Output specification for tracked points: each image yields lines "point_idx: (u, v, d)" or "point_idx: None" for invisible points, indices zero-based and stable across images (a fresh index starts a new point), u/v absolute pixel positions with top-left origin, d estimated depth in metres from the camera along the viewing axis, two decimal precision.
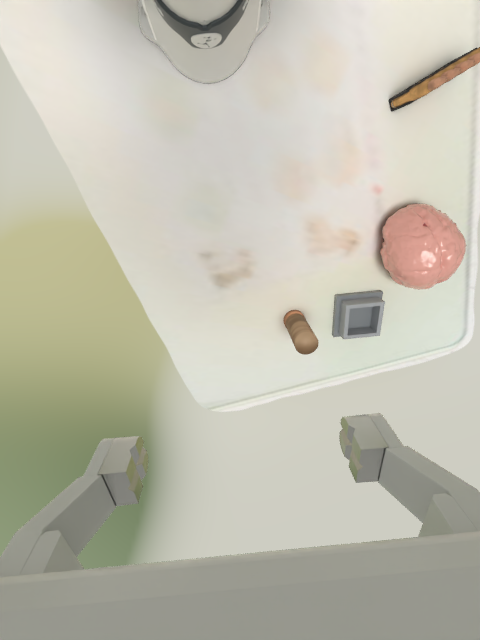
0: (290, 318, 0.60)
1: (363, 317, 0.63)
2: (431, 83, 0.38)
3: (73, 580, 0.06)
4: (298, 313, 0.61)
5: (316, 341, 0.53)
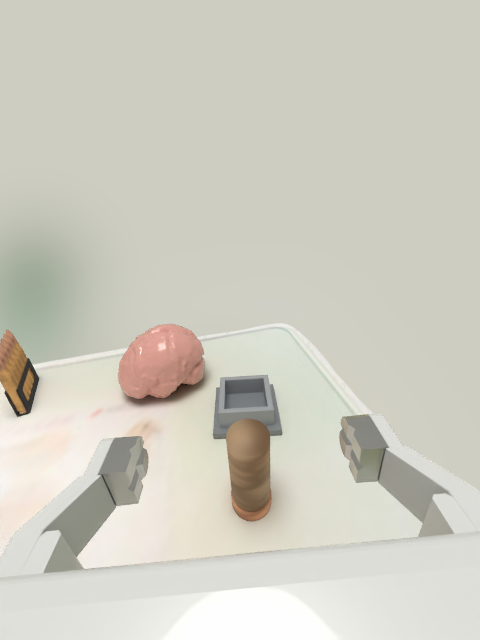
0: (235, 497, 0.31)
1: (250, 400, 0.47)
2: None
3: (73, 580, 0.06)
4: None
5: (242, 421, 0.30)
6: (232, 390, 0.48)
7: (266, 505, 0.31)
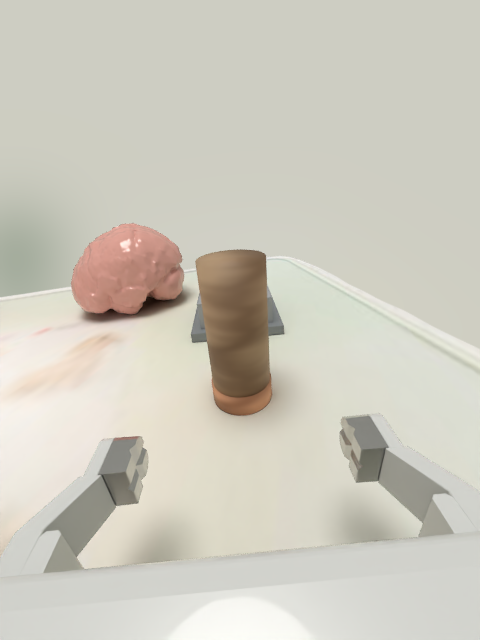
0: (217, 377, 0.20)
1: None
2: None
3: (73, 580, 0.06)
4: None
5: (223, 251, 0.19)
6: None
7: (264, 389, 0.20)
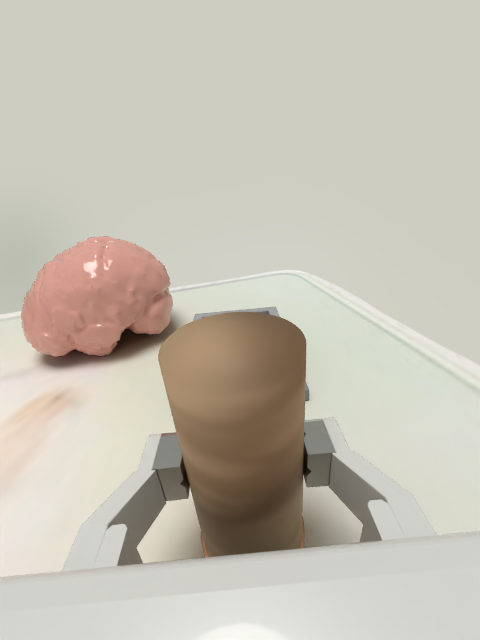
0: (208, 545, 0.11)
1: None
2: None
3: (73, 580, 0.06)
4: None
5: (216, 317, 0.10)
6: None
7: None
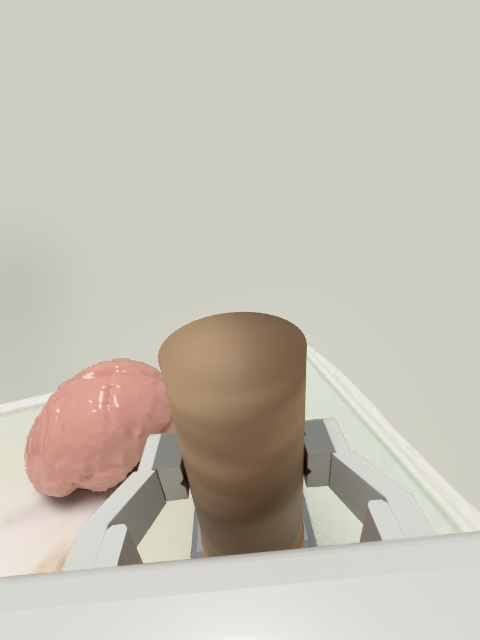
0: (208, 546, 0.11)
1: None
2: None
3: (73, 580, 0.06)
4: None
5: (216, 317, 0.10)
6: None
7: None
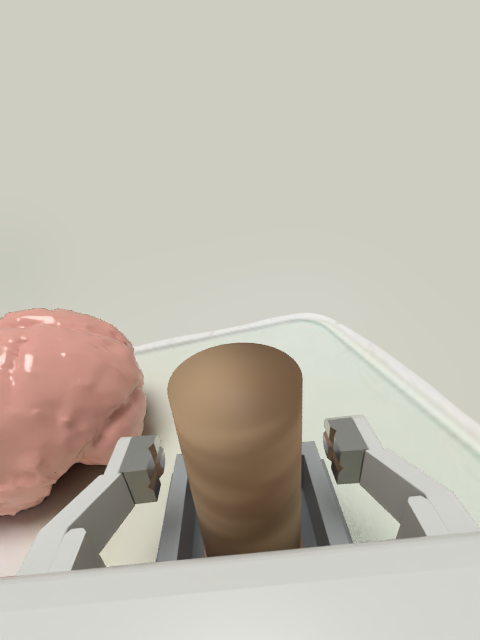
0: None
1: None
2: None
3: (73, 580, 0.06)
4: None
5: (220, 348, 0.11)
6: None
7: None
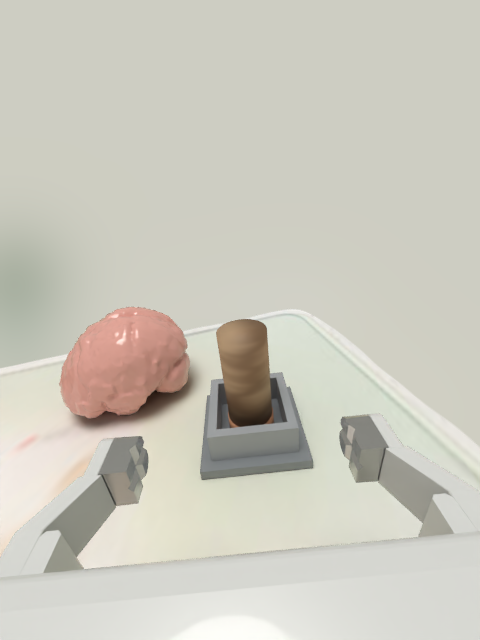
0: (232, 413, 0.27)
1: None
2: None
3: (73, 580, 0.06)
4: None
5: (234, 321, 0.26)
6: None
7: (268, 421, 0.27)
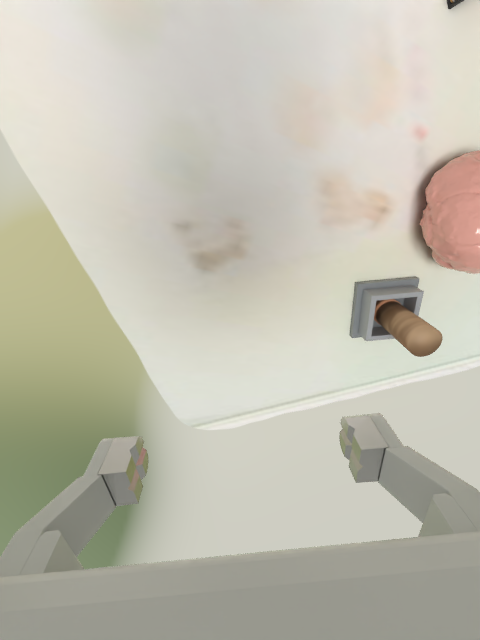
0: (386, 308, 0.44)
1: None
2: None
3: (73, 580, 0.06)
4: (394, 301, 0.45)
5: (440, 338, 0.37)
6: (407, 297, 0.46)
7: (378, 323, 0.47)
